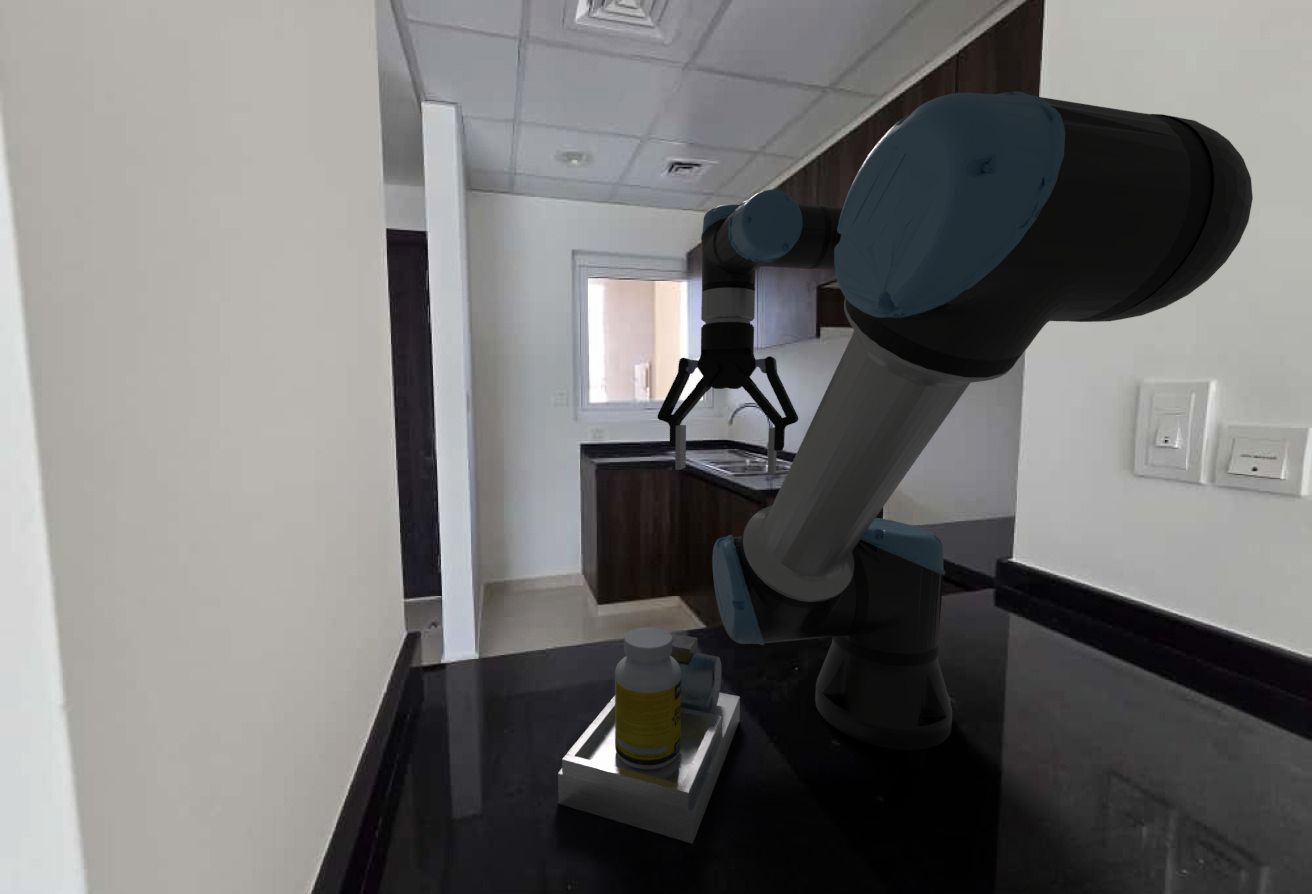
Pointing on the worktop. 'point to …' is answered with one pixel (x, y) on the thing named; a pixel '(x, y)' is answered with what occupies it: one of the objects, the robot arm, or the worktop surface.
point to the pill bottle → (647, 700)
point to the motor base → (668, 792)
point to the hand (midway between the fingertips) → (724, 471)
